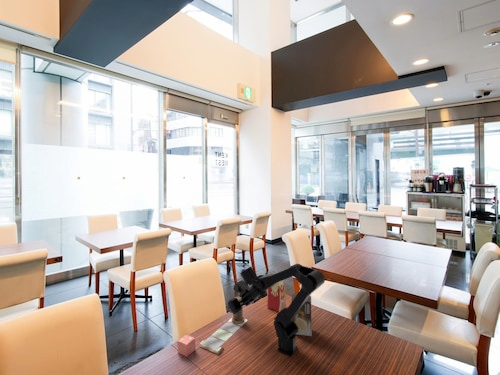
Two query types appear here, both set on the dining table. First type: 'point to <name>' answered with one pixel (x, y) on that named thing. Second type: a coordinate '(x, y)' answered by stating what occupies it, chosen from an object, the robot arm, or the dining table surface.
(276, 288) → the milk carton
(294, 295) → the coffee box
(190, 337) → the die
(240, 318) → the pawn
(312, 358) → the dining table surface
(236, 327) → the board
